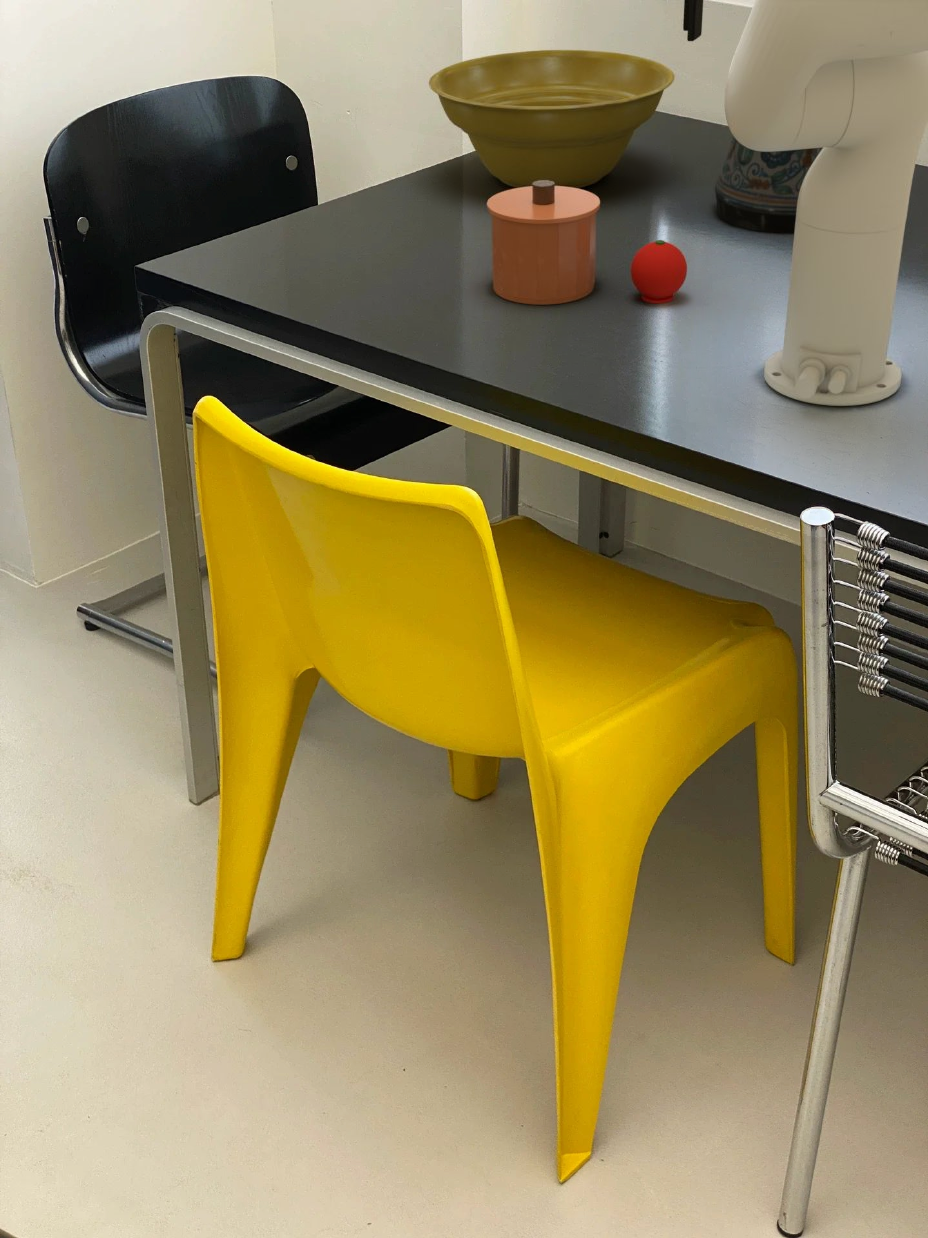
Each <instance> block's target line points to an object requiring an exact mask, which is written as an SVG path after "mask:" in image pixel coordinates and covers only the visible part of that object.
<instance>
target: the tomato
mask: <svg viewBox="0 0 928 1238" xmlns="http://www.w3.org/2000/svg"><path fill="white" fill-rule="evenodd" d="M687 274H688V264H687V260H686V258H685V255H684V253H683V252H682V251H681V249H680V248H678V246H676V245H674V244H672V243H670V242H667V241H665V240H663V239H657V240H655V241H652V242H650V243H647V244H645V245H644V246H642V247H641V248H640V249H639V250H638V251H637V252H636V254H635V255H634V257H633V259H632V261H631V266H630V277H631V281H632V283H633V286H634V287H635V289H637V291H638V292H639V293H640V294H641V299H642V300H643V301H644V302H646V303H651V304H666V303H670V302H671V301H672V302H673V300H674V294H676V293H677V292H678V291H680V290H681V288H682V287H683V285H684V283H685V281H686V279H687Z"/></svg>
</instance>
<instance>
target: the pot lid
mask: <svg viewBox="0 0 928 1238" xmlns="http://www.w3.org/2000/svg"><path fill="white" fill-rule="evenodd" d="M600 207H601V200H600V198H599V196H597V195H596V194H595V193H593V192H590V191H588V190H585V189H581V188H572V187H564V186H555V183H554V182H553V181H549V180H539V181H535V182H533V183H532V186H529V187H521V188H516V187H514V188H510V189H506V190H504V191H500V192H498V193H495V194H494V195H492V196H491V197H490V198H488V200H487V202H486V209H487V212H488V213H489V214H490V215H491V214H492V215H494V216H496V217H498V218H501V219H504V220H508V221H512V222H519V223H530V224H552V223H563V222H569V221H575V220H579V219H582V218H585V217H588V216H590V215H592V214H594V213H596V214H597V212H598V211H599V210H600Z"/></svg>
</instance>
